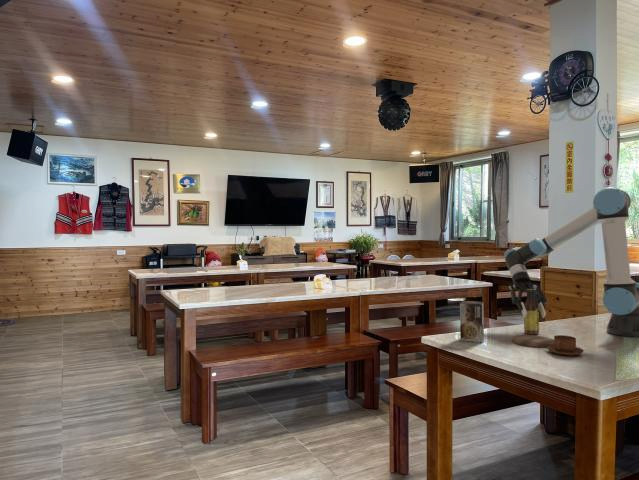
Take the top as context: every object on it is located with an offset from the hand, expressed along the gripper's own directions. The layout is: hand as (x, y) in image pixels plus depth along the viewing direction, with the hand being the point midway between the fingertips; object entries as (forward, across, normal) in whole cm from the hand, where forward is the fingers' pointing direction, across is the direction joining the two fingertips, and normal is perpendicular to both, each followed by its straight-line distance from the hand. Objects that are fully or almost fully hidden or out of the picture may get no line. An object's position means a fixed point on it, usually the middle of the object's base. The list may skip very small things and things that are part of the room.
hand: (534, 315), depth 207 cm
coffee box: (+14, +31, +1) cm, 34 cm away
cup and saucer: (+29, +3, +16) cm, 33 cm away
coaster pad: (+17, +7, +4) cm, 19 cm away
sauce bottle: (+4, 0, -9) cm, 9 cm away
